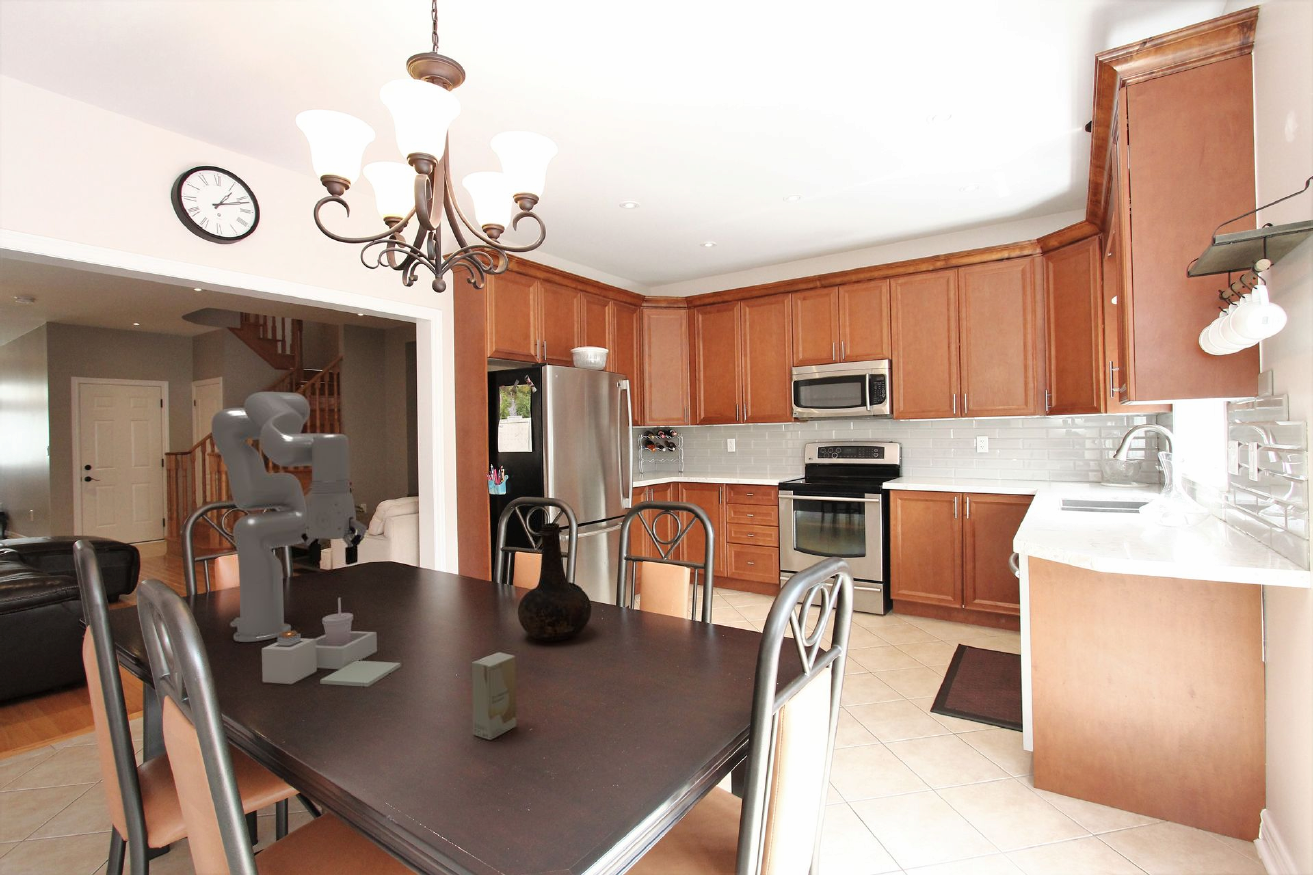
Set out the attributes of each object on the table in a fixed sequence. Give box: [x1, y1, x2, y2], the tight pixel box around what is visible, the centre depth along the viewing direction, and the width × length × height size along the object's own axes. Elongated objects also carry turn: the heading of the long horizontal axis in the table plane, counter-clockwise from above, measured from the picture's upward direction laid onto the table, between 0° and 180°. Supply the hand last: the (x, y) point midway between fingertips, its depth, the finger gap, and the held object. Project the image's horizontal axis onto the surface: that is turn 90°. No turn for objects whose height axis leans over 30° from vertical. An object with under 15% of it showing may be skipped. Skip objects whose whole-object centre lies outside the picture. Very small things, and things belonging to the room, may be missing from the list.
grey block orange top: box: [276, 630, 302, 647], centre depth 132 cm, size 3×3×7 cm
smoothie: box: [321, 597, 354, 647], centre depth 143 cm, size 6×6×14 cm
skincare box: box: [471, 651, 517, 741], centre depth 106 cm, size 6×4×12 cm
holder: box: [315, 630, 378, 670], centre depth 143 cm, size 11×11×4 cm
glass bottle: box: [517, 522, 592, 642], centre depth 155 cm, size 18×18×28 cm
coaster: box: [319, 660, 402, 688], centre depth 132 cm, size 11×11×1 cm
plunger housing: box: [261, 637, 318, 685], centre depth 133 cm, size 7×7×7 cm
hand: (333, 562), depth 142 cm, fingers open, 9 cm apart
